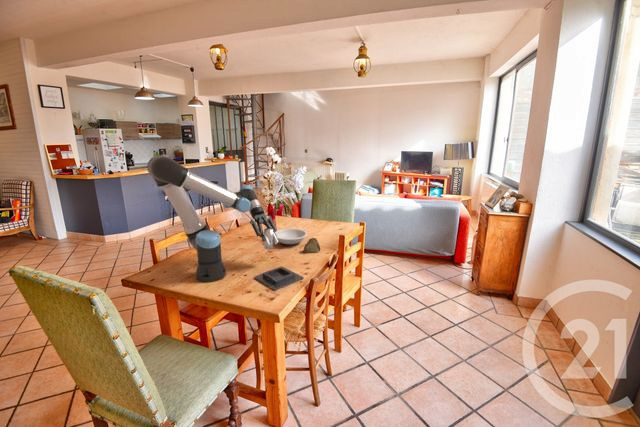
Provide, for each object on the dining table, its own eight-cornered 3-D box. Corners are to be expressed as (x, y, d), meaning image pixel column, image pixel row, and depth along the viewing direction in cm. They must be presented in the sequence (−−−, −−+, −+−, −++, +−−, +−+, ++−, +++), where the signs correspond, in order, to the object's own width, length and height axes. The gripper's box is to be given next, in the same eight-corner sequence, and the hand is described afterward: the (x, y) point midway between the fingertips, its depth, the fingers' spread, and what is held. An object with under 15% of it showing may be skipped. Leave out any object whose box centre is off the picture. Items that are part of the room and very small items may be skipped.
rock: (298, 249, 189) (312, 250, 184) (302, 236, 193) (315, 237, 187) (307, 255, 198) (320, 256, 193) (310, 242, 201) (323, 243, 196)
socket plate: (274, 290, 143) (274, 285, 143) (254, 278, 156) (254, 272, 155) (303, 279, 155) (303, 273, 155) (282, 268, 168) (282, 263, 167)
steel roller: (267, 250, 166) (267, 231, 163) (262, 247, 170) (262, 229, 167) (275, 248, 170) (275, 229, 167) (270, 245, 173) (269, 227, 170)
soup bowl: (266, 245, 202) (265, 236, 200) (283, 235, 224) (283, 226, 222) (298, 251, 193) (298, 241, 192) (312, 239, 215) (312, 230, 213)
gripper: (266, 210, 182) (282, 243, 175) (239, 215, 169) (256, 251, 162) (271, 203, 177) (288, 237, 170) (244, 208, 164) (261, 245, 157)
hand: (272, 244), depth 166 cm, fingers closed on steel roller, 5 cm apart
